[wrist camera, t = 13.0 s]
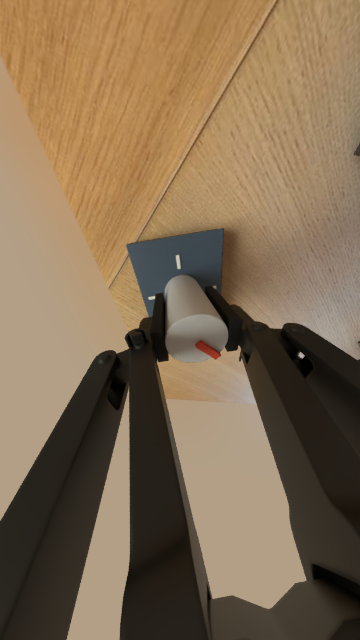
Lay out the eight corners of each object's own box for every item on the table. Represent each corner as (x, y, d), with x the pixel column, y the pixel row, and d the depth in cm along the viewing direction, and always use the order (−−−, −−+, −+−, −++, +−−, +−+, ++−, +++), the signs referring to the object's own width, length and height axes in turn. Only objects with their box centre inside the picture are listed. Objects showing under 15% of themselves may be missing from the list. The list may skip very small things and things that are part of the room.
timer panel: (131, 242, 16) (125, 244, 13) (214, 229, 16) (224, 228, 13) (155, 323, 22) (154, 335, 20) (213, 313, 22) (220, 324, 20)
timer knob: (157, 295, 16) (151, 350, 9) (180, 266, 15) (199, 302, 7) (183, 313, 18) (197, 373, 10) (206, 290, 17) (243, 339, 9)
